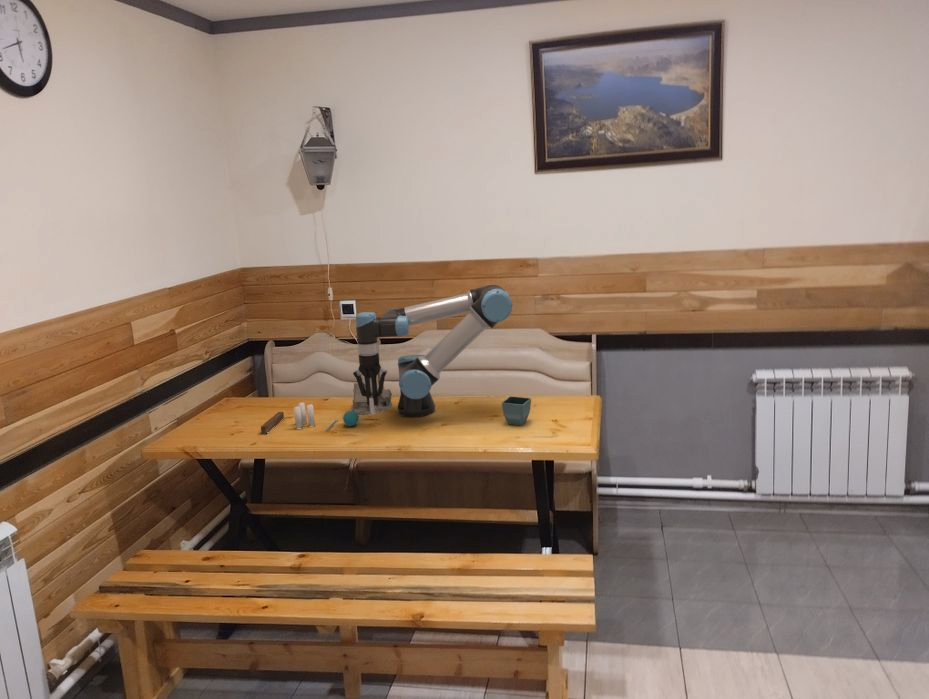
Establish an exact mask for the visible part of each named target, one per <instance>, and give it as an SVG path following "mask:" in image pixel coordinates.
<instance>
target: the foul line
mask: <svg viewBox="0 0 929 699" xmlns="http://www.w3.org/2000/svg"><path fill="white" fill-rule="evenodd" d="M336 422H337V423H338V422H339V420H338V419H337V420H333V422H332V423H331V424H330V425H329V427H327V428H326V429H325V432H329V431H331V429H332V428H333V427H334V426H335V425H336V424H337V423H336ZM335 423H336V424H335ZM334 424H335V425H334ZM333 425H334V426H333ZM332 426H333V427H332Z"/></svg>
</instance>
